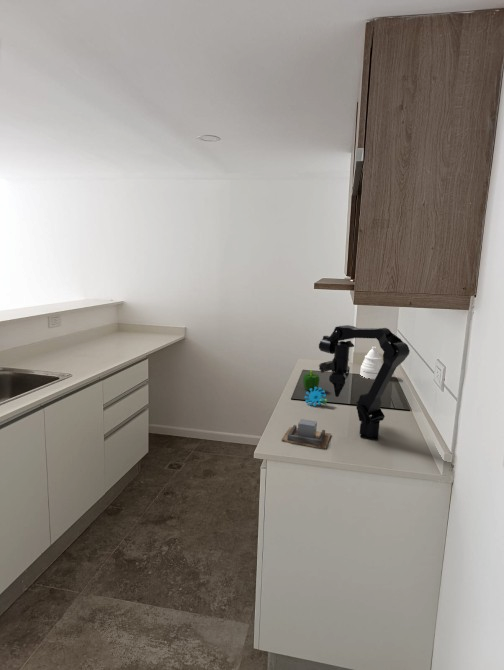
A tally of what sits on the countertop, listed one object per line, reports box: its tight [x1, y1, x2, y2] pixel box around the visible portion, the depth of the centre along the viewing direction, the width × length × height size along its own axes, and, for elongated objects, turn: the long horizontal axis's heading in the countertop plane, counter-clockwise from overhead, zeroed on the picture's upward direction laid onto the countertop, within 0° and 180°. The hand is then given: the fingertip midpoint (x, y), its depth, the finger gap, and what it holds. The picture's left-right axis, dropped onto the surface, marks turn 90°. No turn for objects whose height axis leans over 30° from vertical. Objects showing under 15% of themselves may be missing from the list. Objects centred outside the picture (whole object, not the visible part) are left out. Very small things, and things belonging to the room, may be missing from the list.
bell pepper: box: [302, 369, 320, 392], centre depth 216 cm, size 8×8×10 cm
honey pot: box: [359, 346, 383, 380], centre depth 247 cm, size 13×13×18 cm
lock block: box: [297, 418, 318, 439], centre depth 156 cm, size 6×5×6 cm
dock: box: [281, 424, 332, 450], centre depth 157 cm, size 16×13×2 cm
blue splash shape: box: [304, 387, 328, 407], centre depth 195 cm, size 11×6×10 cm
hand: (338, 393), depth 173 cm, fingers open, 9 cm apart
